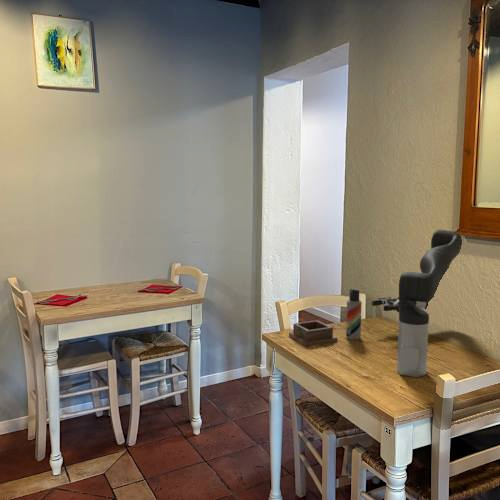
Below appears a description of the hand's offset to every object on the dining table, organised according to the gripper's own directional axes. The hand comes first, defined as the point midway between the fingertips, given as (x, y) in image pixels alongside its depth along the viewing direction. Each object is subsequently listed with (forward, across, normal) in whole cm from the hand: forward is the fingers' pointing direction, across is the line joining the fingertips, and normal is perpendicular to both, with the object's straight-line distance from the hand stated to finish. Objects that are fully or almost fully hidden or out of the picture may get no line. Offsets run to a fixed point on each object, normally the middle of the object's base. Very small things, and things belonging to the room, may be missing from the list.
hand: (378, 305), depth 198 cm
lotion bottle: (+11, 0, +12) cm, 17 cm away
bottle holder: (+27, -4, +12) cm, 30 cm away
